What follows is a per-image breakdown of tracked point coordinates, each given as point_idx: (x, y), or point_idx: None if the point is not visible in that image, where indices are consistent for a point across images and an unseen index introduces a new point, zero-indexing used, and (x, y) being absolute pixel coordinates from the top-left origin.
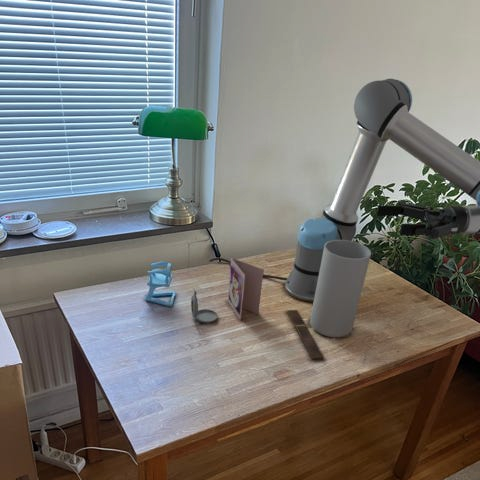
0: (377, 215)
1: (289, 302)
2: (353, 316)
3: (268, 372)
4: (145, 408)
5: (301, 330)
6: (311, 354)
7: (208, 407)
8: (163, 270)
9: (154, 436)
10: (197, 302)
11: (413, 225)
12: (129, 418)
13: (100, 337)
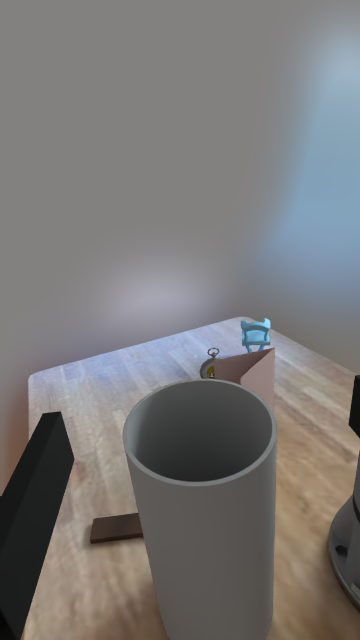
0: (351, 425)
1: (309, 510)
2: (165, 611)
3: (86, 456)
4: (72, 371)
5: None
6: (104, 518)
7: (52, 405)
8: (244, 323)
9: (38, 379)
10: (205, 364)
11: (16, 472)
12: (65, 366)
13: (176, 341)
